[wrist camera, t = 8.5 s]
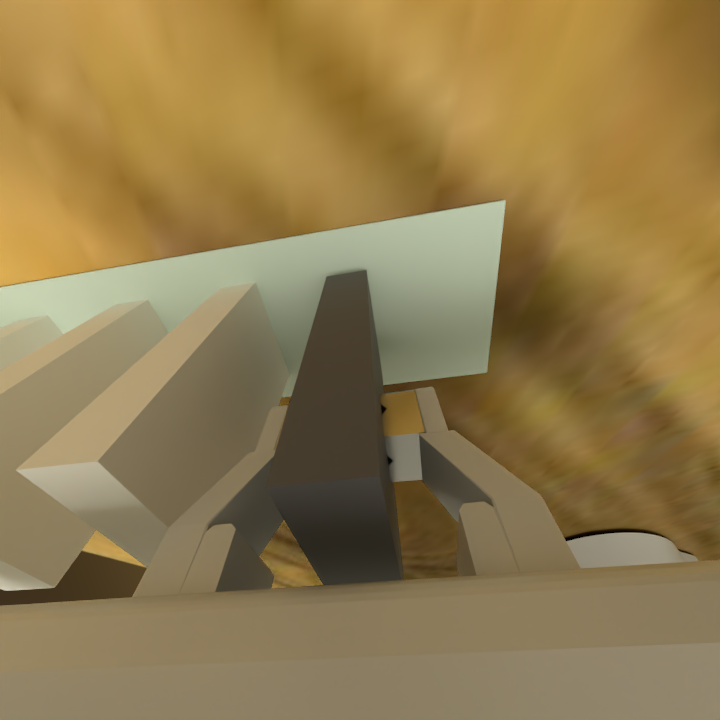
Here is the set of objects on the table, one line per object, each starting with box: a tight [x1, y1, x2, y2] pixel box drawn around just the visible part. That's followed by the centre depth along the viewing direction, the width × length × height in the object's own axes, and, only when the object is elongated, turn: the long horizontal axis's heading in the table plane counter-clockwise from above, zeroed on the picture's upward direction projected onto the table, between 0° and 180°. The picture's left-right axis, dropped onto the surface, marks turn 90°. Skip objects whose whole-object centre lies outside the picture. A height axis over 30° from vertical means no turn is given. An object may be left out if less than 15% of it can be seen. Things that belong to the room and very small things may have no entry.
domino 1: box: [0, 299, 169, 591], centre depth 11 cm, size 5×2×9 cm, turn 9°
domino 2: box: [16, 282, 289, 567], centre depth 10 cm, size 5×2×9 cm, turn 9°
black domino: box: [265, 270, 404, 585], centre depth 9 cm, size 5×2×9 cm, turn 9°
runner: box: [0, 200, 506, 397], centre depth 14 cm, size 8×32×1 cm, turn 99°
